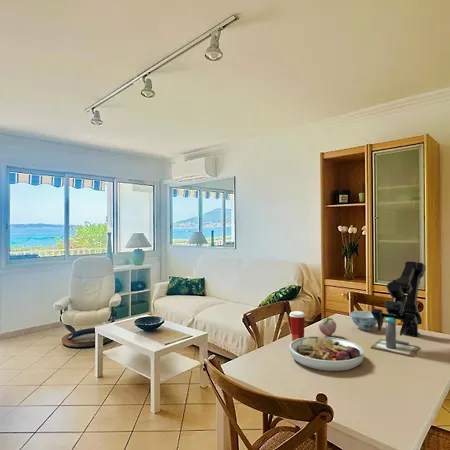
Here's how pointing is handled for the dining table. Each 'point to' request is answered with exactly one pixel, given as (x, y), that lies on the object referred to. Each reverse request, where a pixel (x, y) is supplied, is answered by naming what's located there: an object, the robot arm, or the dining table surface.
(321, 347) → the bowl
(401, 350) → the clipboard
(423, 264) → the robot arm
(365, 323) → the chinaware
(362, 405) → the dining table surface
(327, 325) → the decorative fruit
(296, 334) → the paper cup
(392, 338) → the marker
